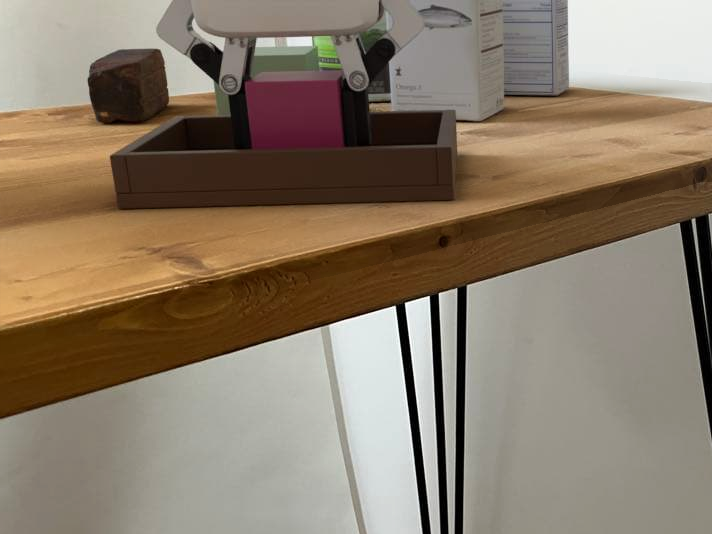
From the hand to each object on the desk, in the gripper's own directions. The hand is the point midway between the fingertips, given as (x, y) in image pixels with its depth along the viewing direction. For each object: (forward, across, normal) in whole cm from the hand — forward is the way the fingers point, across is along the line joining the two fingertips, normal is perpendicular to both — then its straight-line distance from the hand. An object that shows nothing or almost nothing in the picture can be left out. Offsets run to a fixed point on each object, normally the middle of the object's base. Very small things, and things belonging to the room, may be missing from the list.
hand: (305, 157), depth 64 cm
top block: (0, 0, 0) cm, 0 cm away
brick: (+1, +18, -28) cm, 33 cm away
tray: (+1, 0, 0) cm, 1 cm away
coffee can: (+1, -1, -37) cm, 37 cm away
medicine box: (+2, -14, -36) cm, 39 cm away
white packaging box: (+2, -8, -24) cm, 25 cm away
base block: (+1, +6, -25) cm, 26 cm away
